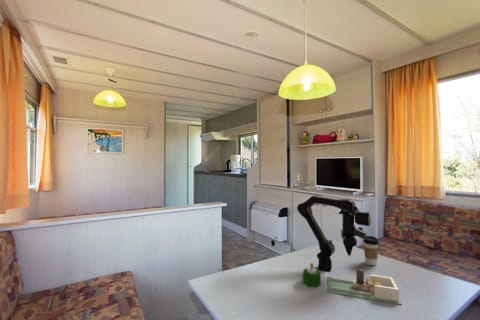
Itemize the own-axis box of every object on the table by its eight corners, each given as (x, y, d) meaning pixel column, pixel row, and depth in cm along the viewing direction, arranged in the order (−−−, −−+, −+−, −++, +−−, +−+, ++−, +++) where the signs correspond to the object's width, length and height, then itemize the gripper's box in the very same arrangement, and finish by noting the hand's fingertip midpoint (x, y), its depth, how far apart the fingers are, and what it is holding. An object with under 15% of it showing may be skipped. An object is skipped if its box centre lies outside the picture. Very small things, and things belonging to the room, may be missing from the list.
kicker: (354, 290, 111) (354, 272, 111) (352, 283, 118) (352, 266, 118) (373, 293, 108) (373, 275, 108) (370, 286, 115) (370, 268, 115)
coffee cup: (375, 260, 146) (375, 236, 146) (381, 266, 137) (381, 240, 137) (360, 260, 147) (360, 235, 147) (366, 266, 138) (366, 240, 138)
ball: (384, 287, 108) (381, 295, 109) (382, 283, 112) (379, 290, 112) (375, 283, 109) (371, 290, 110) (373, 279, 113) (370, 286, 114)
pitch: (328, 292, 111) (328, 280, 111) (327, 277, 125) (327, 267, 125) (401, 304, 101) (401, 292, 101) (392, 287, 116) (392, 275, 116)
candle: (321, 288, 115) (321, 267, 115) (303, 286, 116) (303, 265, 116) (319, 279, 123) (319, 260, 123) (302, 278, 125) (302, 258, 125)
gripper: (368, 229, 116) (368, 261, 116) (362, 220, 134) (362, 248, 134) (343, 227, 120) (343, 258, 120) (340, 218, 138) (340, 245, 138)
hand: (348, 252), depth 128 cm, fingers open, 9 cm apart
